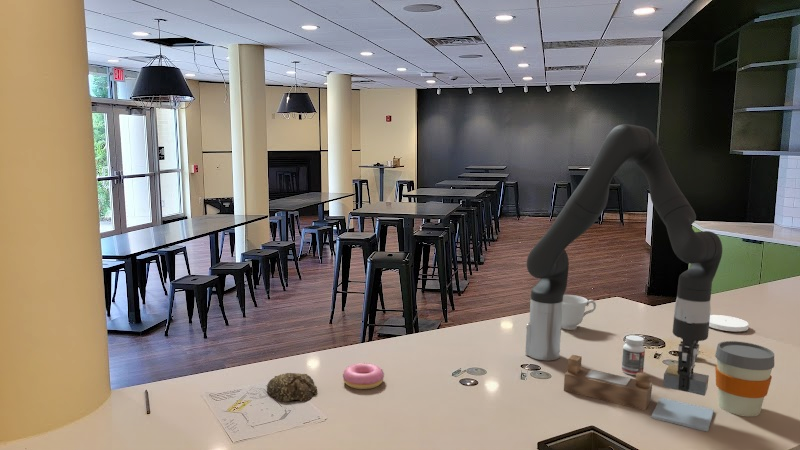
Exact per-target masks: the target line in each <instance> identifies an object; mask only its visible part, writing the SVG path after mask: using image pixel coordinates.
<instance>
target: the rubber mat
mask: <svg viewBox="0 0 800 450" xmlns="http://www.w3.org/2000/svg"><path fill="white" fill-rule="evenodd" d="M659 398H660V399H659V400H658V402H657V404H656V406H655V408H654V410H653V412H652V414H650V415H651V417H650V418H651V419H655V420H658V421H662V422H663V421H664V422H667V423H671V424H675V425H679V426H683V427H687V428H690V429H694V430H698V431H703V432H709V428H710V427H711V426H710V425H711V422H712V418H713V415H714V411H715V410H714V409H712V408H708V407H704V406H700V405H696V404H692V403H691V404H690V403H687V402H681V401H678V400H675V399H668V398H665V397H659Z"/></svg>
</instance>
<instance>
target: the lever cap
mask: <svg viewBox="0 0 800 450" xmlns="http://www.w3.org/2000/svg"><path fill="white" fill-rule="evenodd" d="M682 370H683V367H682ZM677 371H678V364H674V363H669V365H668V366H667V368H666V369H665V372H664V373H663V379H662V380H663V382H662V383H663V384H662V387H663V388H667V389H673V390H677V391H682V390H679V389H678V385H679V374H678V373H677ZM709 379H710V376H709V375H708V374H705V373H699V372H694V371H693V372H691V376H690V383H689V390H688V391H684V392H685V393H690V394H695V395H698V396H699V395H700V396H703V397H704V396H706V393H707V391H708V389H709ZM682 392H683V391H682Z"/></svg>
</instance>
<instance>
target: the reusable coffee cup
mask: <svg viewBox="0 0 800 450" xmlns="http://www.w3.org/2000/svg"><path fill="white" fill-rule="evenodd" d="M714 356H715V359H716V365H715V367H714V369H715V370H714V371H715V385H716V387H717V392H718V393H717V396H718V407H719V408H720V409H722V410H723V411H725V412H728V413H729V414H732V413H733V414H732V415H735V416H737V415H738V416H743V417H756V416H759V415H760V413H761V409H762V407H763V404H764V403H763V402H764V400H765V397H766V396H768V392H769V389H770V386H771V381H772V375H771V373H772V370H773V369H774V368H775V353H774V351H773V350H771V349H770V348H768V347H764V346H762V345H759V344H755V343H750V342H745V341H738V340H737V341H736V340H727V341H725V340H724V341H721V342H718V343H717V345H716V350H715V355H714Z"/></svg>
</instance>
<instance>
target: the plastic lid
mask: <svg viewBox="0 0 800 450" xmlns="http://www.w3.org/2000/svg"><path fill="white" fill-rule="evenodd" d="M749 326H750V325H749V322H748V321H746V320H744V319H741V318H738V317H736V316H735V317H734V316H730V315H723V314H722V315H721V314H710V322H709V328H713V329H715V330H720V331H726V332H736V333H737V332H746V331H748V330H749Z"/></svg>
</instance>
